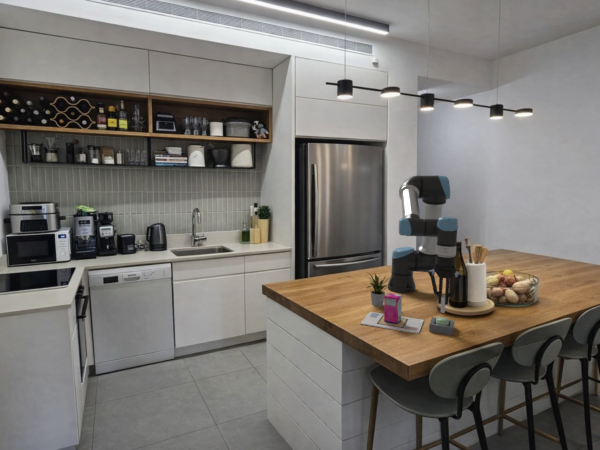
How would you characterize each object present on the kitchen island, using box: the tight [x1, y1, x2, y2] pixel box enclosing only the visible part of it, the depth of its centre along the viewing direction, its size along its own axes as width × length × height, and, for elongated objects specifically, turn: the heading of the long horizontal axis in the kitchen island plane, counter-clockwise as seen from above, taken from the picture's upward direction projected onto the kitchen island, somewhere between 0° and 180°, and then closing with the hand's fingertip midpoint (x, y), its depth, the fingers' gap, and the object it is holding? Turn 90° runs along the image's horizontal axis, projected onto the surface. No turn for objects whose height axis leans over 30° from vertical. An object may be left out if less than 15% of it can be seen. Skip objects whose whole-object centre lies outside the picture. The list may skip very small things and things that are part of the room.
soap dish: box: [428, 317, 456, 336], centre depth 165 cm, size 9×9×3 cm
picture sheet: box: [359, 311, 425, 335], centre depth 172 cm, size 16×24×1 cm, turn 66°
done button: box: [435, 316, 450, 326], centre depth 165 cm, size 5×5×4 cm
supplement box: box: [383, 292, 403, 324], centre depth 172 cm, size 6×6×12 cm
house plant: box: [364, 272, 392, 307], centre depth 195 cm, size 14×14×16 cm
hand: (442, 311), depth 164 cm, fingers closed
